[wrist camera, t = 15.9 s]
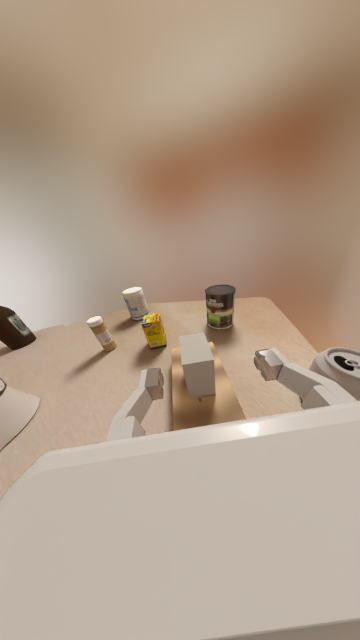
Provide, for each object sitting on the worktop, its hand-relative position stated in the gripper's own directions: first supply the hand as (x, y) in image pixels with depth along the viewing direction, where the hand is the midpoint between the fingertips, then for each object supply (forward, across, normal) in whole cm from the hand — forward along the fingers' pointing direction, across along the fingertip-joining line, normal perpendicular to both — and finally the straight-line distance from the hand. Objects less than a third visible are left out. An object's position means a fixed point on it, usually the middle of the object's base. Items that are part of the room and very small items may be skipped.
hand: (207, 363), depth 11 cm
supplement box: (+31, -12, -23) cm, 40 cm away
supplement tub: (+55, -23, -23) cm, 64 cm away
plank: (+10, 0, -22) cm, 24 cm away
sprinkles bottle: (+32, -31, -23) cm, 50 cm away
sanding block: (+9, 0, -17) cm, 19 cm away
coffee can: (+36, +14, -22) cm, 45 cm away
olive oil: (+49, -82, -23) cm, 98 cm away
